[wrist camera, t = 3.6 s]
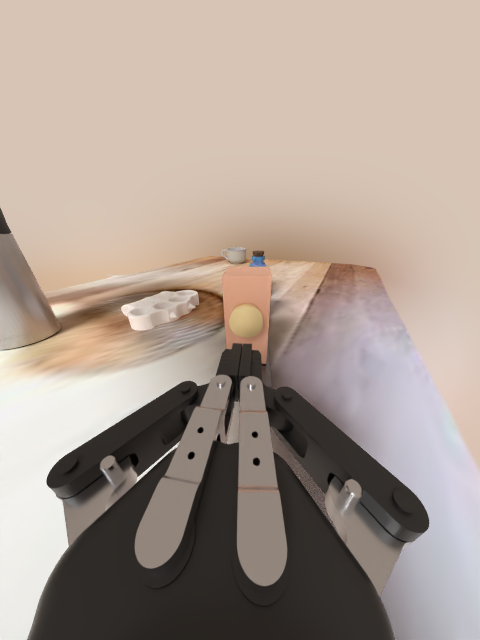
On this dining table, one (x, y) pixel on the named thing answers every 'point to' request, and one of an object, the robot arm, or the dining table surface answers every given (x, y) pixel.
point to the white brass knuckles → (160, 308)
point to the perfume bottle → (258, 259)
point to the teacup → (235, 255)
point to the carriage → (247, 307)
